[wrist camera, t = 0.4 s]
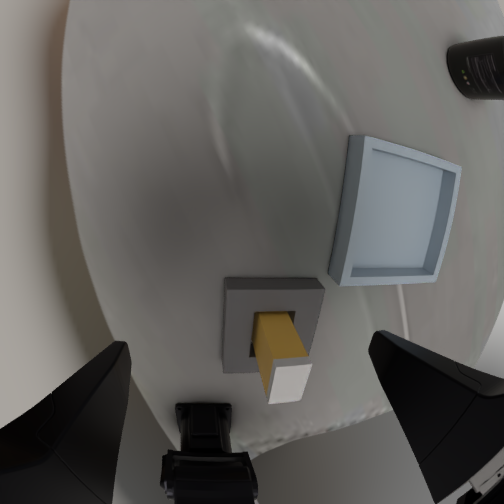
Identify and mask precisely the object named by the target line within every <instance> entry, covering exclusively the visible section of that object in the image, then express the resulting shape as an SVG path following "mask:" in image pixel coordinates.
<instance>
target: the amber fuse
mask: <svg viewBox="0 0 504 504" xmlns="http://www.w3.org/2000/svg"><path fill="white" fill-rule="evenodd" d="M252 343H253V347H254V351H255V355H256V359H257V363H258V367H259V371H260V374H261V378H262V382H263V386H264V390H265V393H266V397H267V401H268V404H275V403H285V402H293V401H301V398H302V395H303V392H304V389H305V386H306V383H307V379H308V376H309V373H310V370H311V367H312V362H311V360H310V358H309V356H308V354H307V352H306V350H305V348H304V346H303V344H302V342H301V339H300V337H299V335H298V333H297V331H296V329H295V327H294V325H293V323H292V321H291V319H290V317H289V314H288V312H287V311H265V312H255V313H254V322H253V331H252Z"/></svg>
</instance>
